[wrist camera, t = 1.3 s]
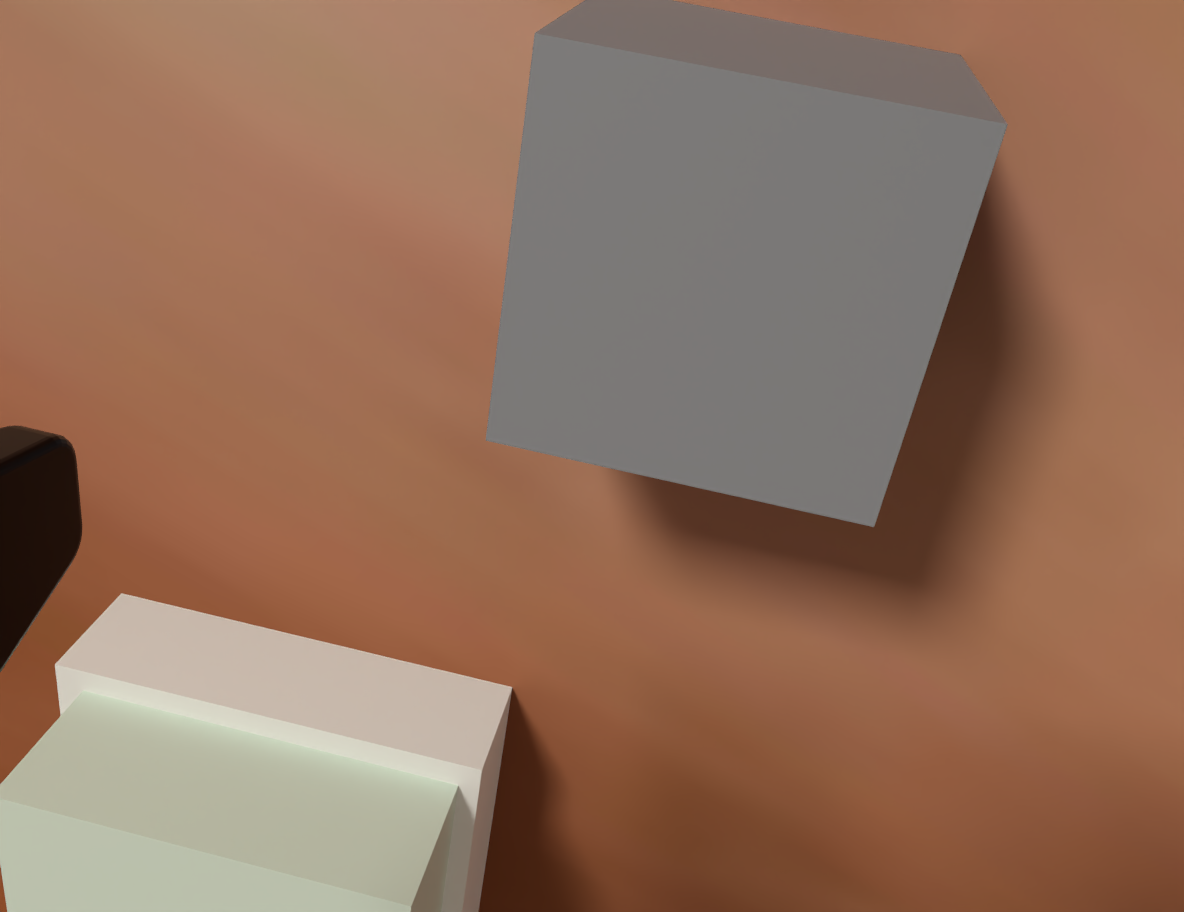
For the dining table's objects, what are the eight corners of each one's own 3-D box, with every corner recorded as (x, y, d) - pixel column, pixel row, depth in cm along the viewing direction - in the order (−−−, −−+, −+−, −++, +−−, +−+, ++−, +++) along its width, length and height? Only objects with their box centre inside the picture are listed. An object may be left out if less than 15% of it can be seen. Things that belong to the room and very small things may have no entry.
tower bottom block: (517, 673, 25) (482, 770, 22) (477, 937, 29) (443, 1043, 27) (133, 580, 26) (55, 664, 23) (150, 852, 30) (86, 948, 27)
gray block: (959, 54, 17) (1008, 124, 13) (861, 377, 20) (874, 526, 15) (605, -13, 17) (535, 33, 13) (557, 312, 20) (485, 441, 16)
